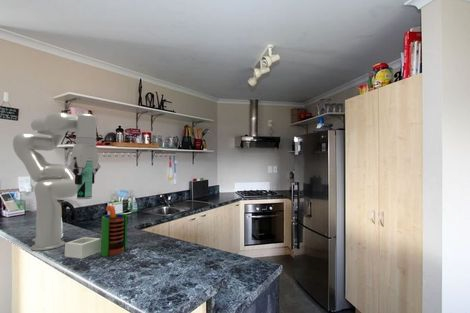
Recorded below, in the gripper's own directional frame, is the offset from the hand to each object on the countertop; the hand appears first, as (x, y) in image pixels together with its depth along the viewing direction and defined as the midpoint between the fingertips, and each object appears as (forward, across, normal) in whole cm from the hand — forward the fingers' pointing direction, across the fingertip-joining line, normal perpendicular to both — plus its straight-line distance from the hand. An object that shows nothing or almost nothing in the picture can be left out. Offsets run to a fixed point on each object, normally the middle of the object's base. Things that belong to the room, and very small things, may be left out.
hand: (84, 183), depth 106 cm
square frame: (+30, 0, 0) cm, 30 cm away
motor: (+30, -5, +11) cm, 33 cm away
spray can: (+7, 0, 0) cm, 7 cm away
